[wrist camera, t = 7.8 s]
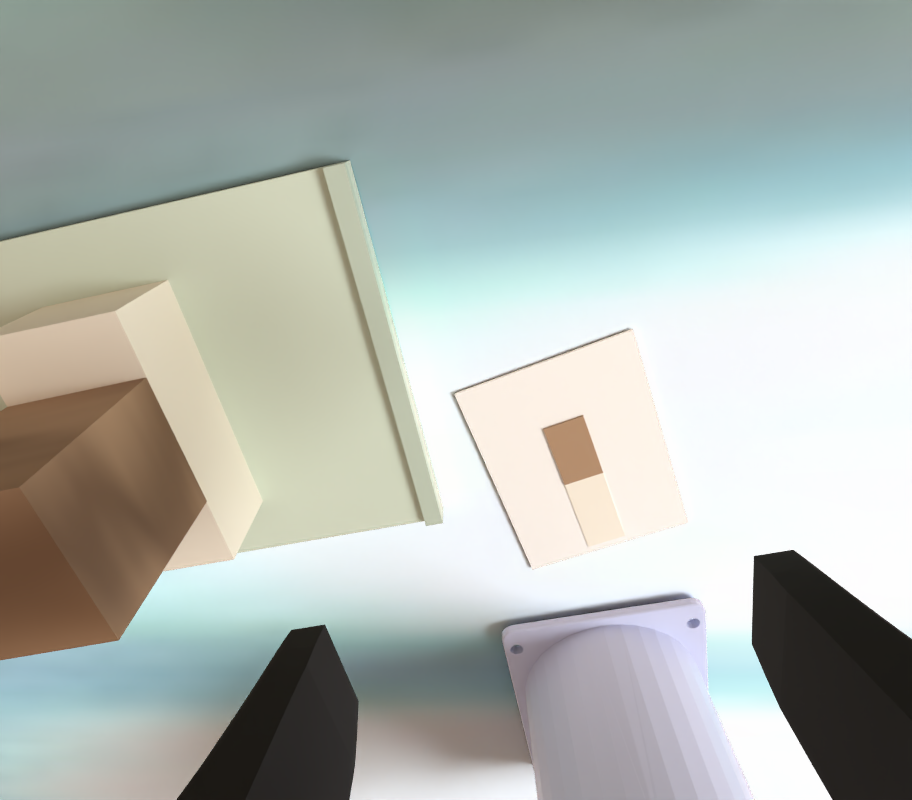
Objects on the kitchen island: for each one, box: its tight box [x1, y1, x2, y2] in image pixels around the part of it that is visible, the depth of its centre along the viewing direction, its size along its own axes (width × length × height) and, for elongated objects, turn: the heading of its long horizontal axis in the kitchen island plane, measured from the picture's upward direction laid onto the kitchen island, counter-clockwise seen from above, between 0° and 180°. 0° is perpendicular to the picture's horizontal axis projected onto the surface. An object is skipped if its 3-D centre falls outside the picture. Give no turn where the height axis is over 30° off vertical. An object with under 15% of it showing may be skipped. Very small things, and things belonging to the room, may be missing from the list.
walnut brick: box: [0, 378, 207, 660], centre depth 14 cm, size 4×4×5 cm
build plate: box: [0, 160, 443, 553], centre depth 19 cm, size 12×14×1 cm
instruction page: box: [454, 329, 688, 569], centre depth 21 cm, size 8×6×1 cm
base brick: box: [0, 280, 263, 571], centre depth 18 cm, size 8×4×3 cm, turn 12°
